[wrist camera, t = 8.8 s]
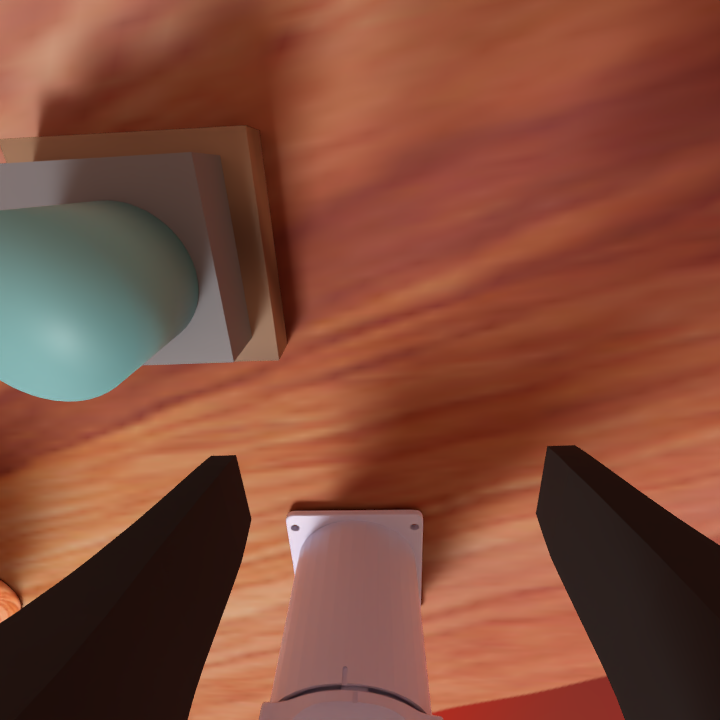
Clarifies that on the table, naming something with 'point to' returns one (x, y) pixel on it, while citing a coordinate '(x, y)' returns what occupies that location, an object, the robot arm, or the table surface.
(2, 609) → the beer glass
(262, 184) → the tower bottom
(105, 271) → the teal domed cylinder
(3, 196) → the tower top
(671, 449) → the table surface
